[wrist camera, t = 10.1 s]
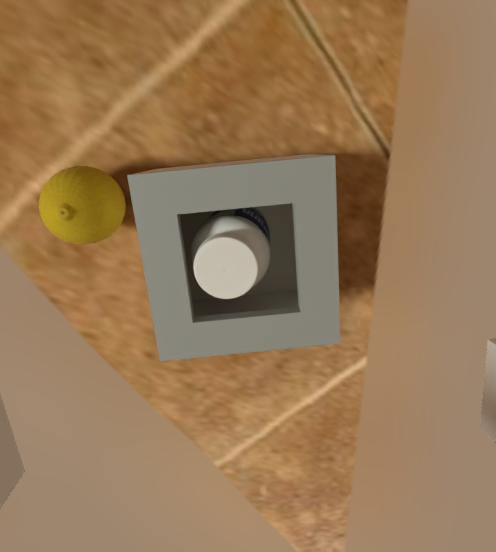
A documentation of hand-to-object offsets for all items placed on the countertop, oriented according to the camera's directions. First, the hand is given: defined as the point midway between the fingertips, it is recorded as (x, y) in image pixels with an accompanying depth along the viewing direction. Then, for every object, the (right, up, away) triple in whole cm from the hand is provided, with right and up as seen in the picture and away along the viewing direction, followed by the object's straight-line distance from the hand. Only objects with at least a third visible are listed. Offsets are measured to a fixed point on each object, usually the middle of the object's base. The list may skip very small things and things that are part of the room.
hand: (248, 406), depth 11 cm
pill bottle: (-1, +7, +23) cm, 24 cm away
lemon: (-12, +10, +22) cm, 27 cm away
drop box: (-1, +7, +23) cm, 25 cm away
